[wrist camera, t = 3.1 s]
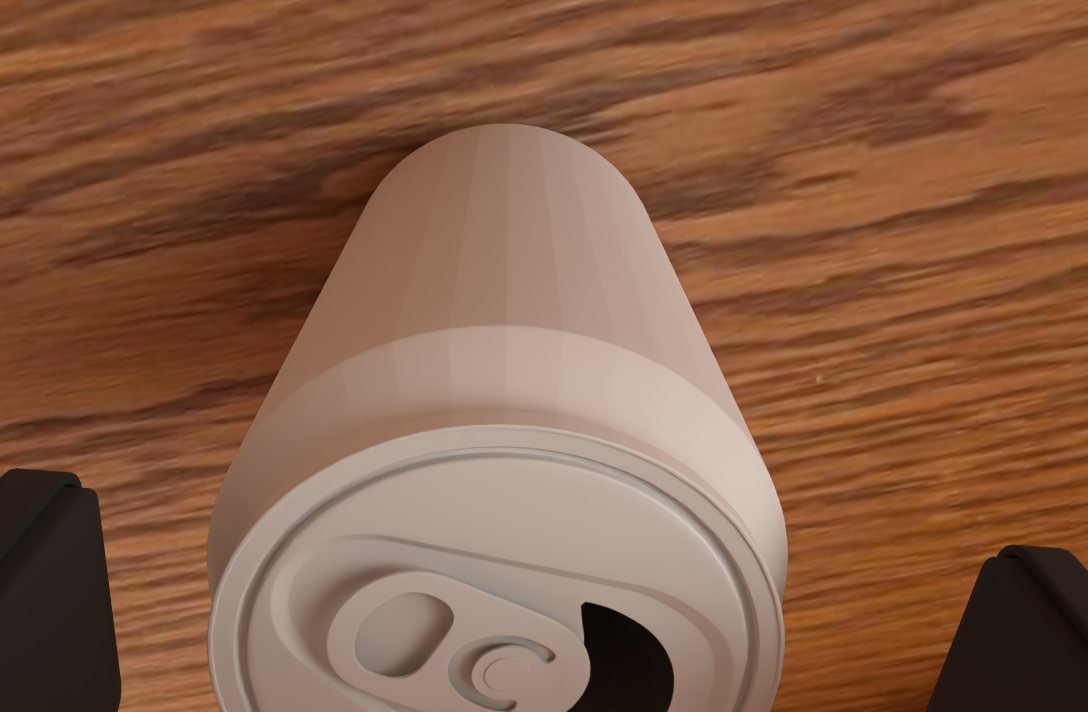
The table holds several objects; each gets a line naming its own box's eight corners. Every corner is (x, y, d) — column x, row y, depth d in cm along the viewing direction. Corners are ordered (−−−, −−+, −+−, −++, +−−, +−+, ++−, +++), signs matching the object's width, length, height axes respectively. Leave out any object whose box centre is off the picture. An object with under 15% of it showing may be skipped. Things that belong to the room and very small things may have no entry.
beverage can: (551, 438, 22) (594, 960, 11) (305, 308, 20) (62, 769, 9) (711, 217, 19) (969, 593, 8) (448, 51, 18) (353, 254, 7)
